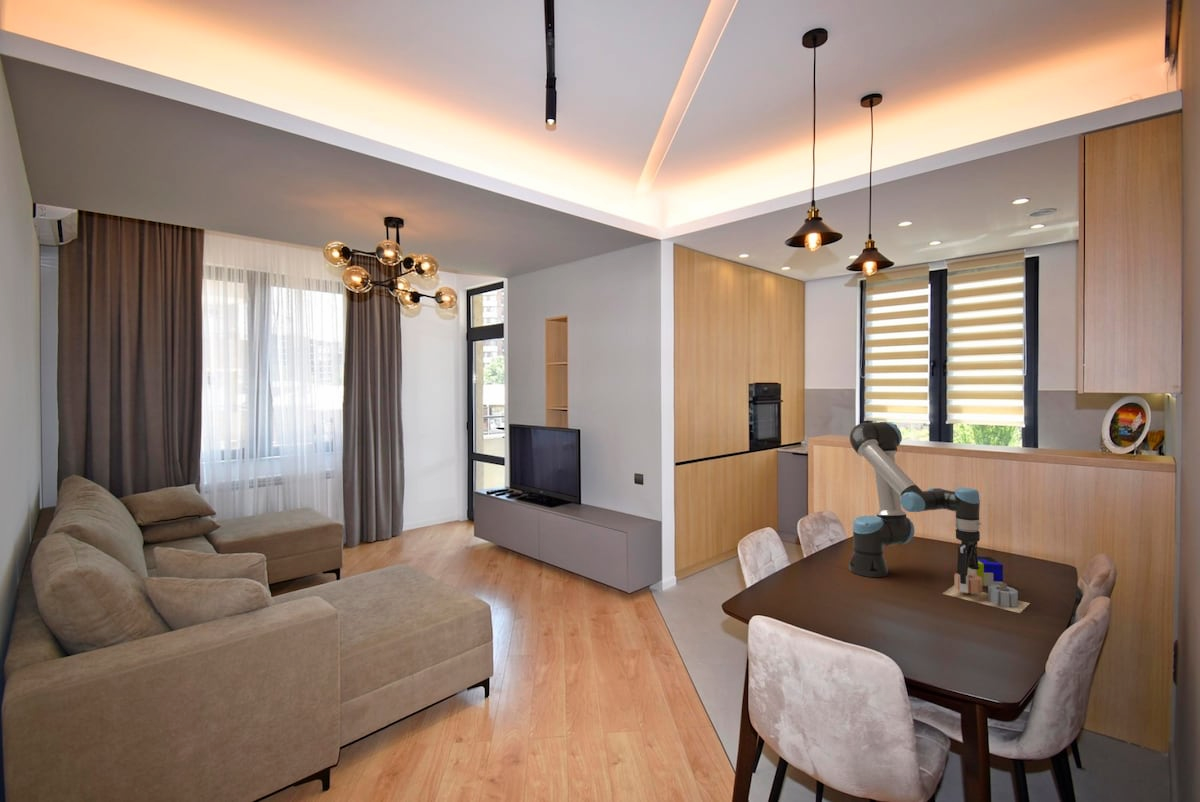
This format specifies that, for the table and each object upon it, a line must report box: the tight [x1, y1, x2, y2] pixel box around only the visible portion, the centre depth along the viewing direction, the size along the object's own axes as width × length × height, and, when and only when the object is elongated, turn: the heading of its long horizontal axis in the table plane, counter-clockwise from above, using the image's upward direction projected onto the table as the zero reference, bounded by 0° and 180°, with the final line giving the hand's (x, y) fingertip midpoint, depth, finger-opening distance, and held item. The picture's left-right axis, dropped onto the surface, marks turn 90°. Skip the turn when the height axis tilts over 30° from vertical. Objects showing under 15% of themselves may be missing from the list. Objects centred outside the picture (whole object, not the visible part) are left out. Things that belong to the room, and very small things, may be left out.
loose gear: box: [953, 573, 983, 594], centre depth 204 cm, size 8×8×5 cm
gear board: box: [941, 575, 1031, 614], centre depth 200 cm, size 24×13×8 cm, turn 39°
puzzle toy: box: [967, 555, 1004, 587], centre depth 216 cm, size 10×10×10 cm
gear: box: [987, 585, 1019, 607], centre depth 196 cm, size 8×8×5 cm
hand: (968, 588), depth 204 cm, fingers closed on loose gear, 8 cm apart
